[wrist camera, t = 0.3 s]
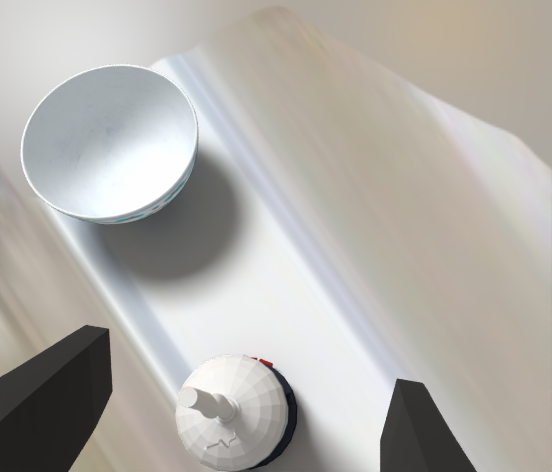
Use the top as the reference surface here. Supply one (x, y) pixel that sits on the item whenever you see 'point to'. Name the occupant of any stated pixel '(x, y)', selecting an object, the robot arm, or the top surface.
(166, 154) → the chinaware
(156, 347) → the top surface
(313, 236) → the top surface
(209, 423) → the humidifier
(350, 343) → the top surface
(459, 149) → the top surface
